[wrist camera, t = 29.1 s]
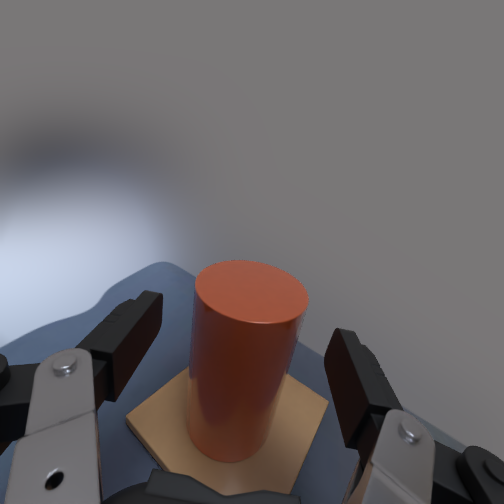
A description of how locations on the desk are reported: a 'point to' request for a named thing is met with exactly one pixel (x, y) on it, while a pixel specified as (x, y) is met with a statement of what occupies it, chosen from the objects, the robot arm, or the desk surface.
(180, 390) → the plate
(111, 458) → the desk surface
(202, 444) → the glossy red cylinder
